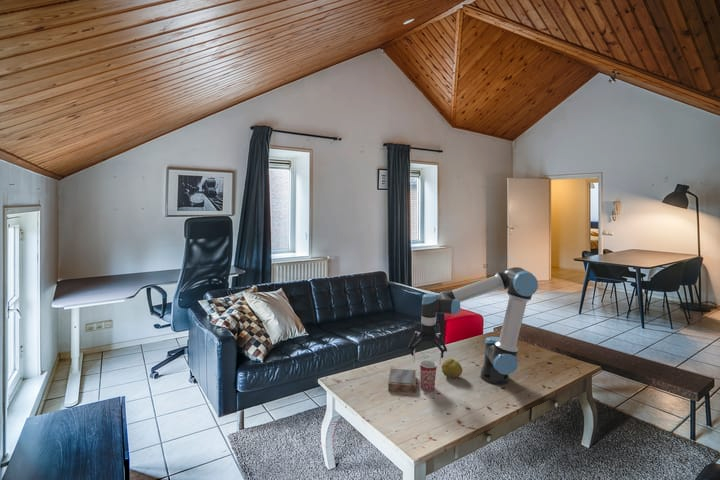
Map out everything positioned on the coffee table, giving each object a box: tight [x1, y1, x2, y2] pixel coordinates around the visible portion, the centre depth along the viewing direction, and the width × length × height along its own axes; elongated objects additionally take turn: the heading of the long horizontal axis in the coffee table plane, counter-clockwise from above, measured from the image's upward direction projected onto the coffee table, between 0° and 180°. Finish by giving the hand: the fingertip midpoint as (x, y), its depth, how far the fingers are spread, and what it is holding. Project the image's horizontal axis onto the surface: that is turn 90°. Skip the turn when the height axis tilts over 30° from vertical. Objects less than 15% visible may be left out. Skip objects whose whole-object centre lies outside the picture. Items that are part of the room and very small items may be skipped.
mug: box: [419, 359, 438, 392], centre depth 205 cm, size 13×9×14 cm
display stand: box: [387, 368, 416, 394], centre depth 208 cm, size 14×18×4 cm
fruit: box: [441, 358, 463, 379], centre depth 216 cm, size 11×12×10 cm
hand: (426, 362), depth 204 cm, fingers open, 13 cm apart
